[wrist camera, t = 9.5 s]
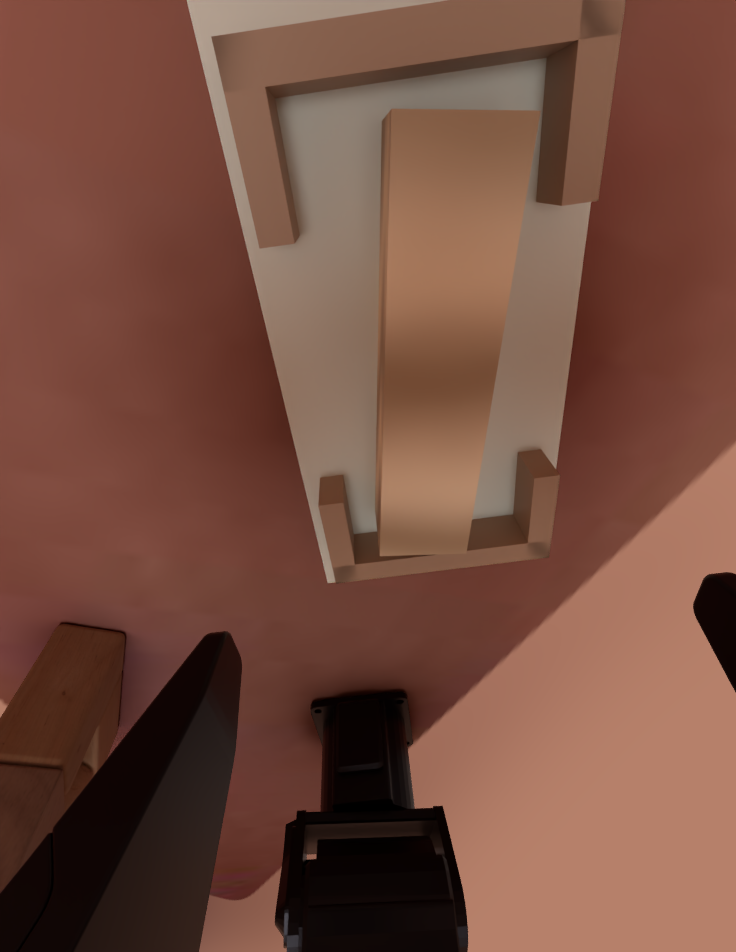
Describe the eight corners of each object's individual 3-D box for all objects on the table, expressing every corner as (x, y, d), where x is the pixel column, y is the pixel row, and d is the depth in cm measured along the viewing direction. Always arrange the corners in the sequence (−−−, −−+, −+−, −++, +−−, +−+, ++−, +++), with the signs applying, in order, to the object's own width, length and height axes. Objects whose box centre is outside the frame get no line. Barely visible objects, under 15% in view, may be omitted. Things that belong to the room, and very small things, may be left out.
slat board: (537, 543, 24) (560, 586, 21) (328, 568, 24) (326, 614, 22) (612, -102, 12) (687, -178, 9) (186, -36, 12) (144, -91, 9)
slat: (451, 508, 21) (466, 553, 18) (374, 510, 21) (379, 556, 18) (502, 122, 13) (540, 110, 11) (381, 121, 13) (391, 108, 10)
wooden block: (128, 630, 26) (-161, 1254, 11) (119, 728, 31) (-81, 1233, 16) (57, 619, 25) (-359, 1276, 10) (61, 721, 31) (-205, 1246, 16)
